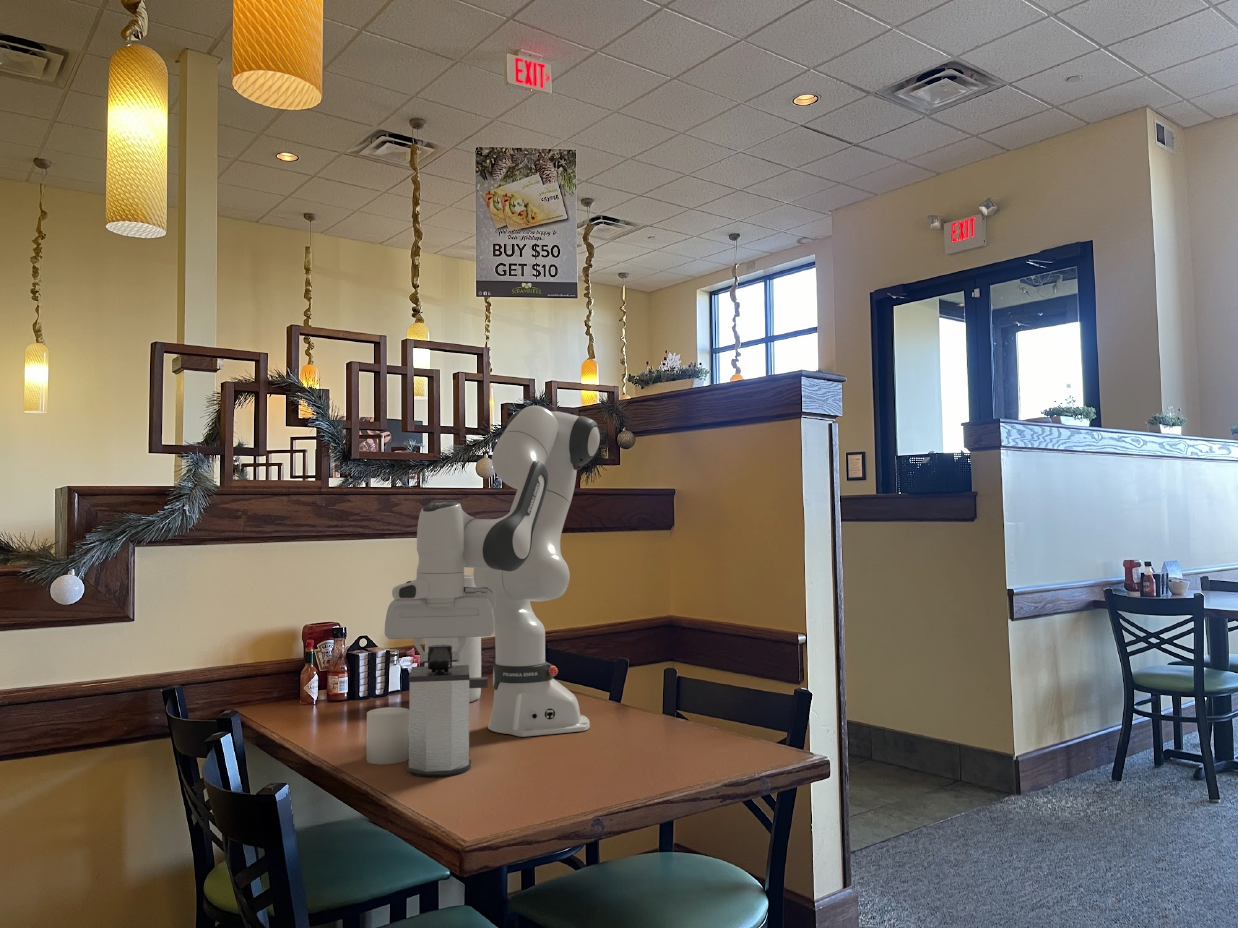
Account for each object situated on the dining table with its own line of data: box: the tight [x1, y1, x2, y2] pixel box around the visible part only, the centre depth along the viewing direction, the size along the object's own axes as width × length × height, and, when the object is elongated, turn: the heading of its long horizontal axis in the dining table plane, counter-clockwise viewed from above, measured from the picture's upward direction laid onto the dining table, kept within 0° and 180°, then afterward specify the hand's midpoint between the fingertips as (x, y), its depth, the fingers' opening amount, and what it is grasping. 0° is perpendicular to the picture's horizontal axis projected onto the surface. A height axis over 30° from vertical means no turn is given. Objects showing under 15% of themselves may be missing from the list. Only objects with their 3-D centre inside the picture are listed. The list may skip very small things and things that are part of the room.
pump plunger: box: [428, 645, 452, 672], centre depth 168 cm, size 4×4×21 cm
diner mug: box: [365, 706, 409, 765], centre depth 177 cm, size 8×11×9 cm
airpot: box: [406, 665, 489, 778], centre depth 168 cm, size 15×12×18 cm
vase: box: [424, 573, 482, 703], centre depth 232 cm, size 14×14×32 cm
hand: (439, 661), depth 169 cm, fingers closed on pump plunger, 4 cm apart
